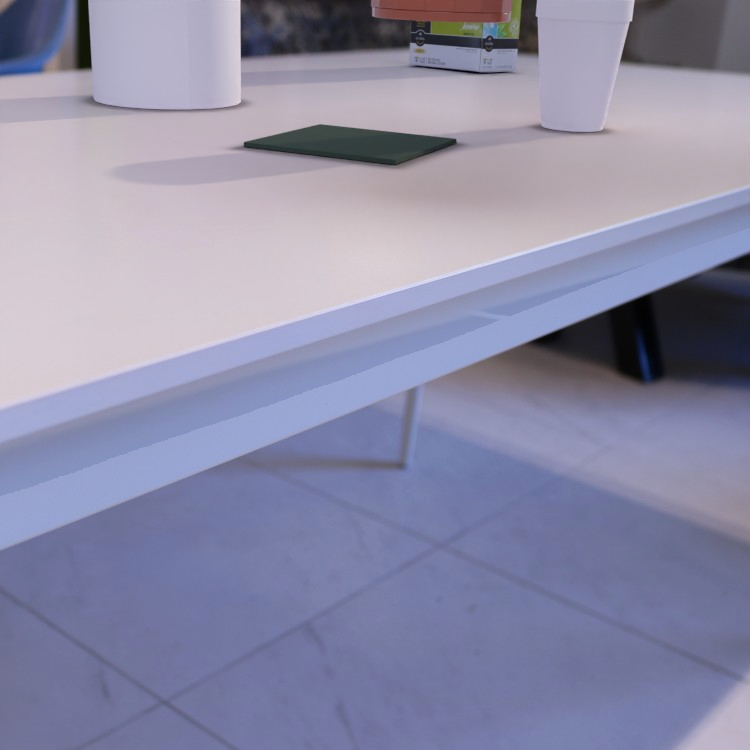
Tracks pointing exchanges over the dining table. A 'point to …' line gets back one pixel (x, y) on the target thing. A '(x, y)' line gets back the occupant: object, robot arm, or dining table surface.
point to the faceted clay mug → (444, 10)
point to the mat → (352, 143)
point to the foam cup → (579, 60)
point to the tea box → (467, 44)
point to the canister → (166, 53)
